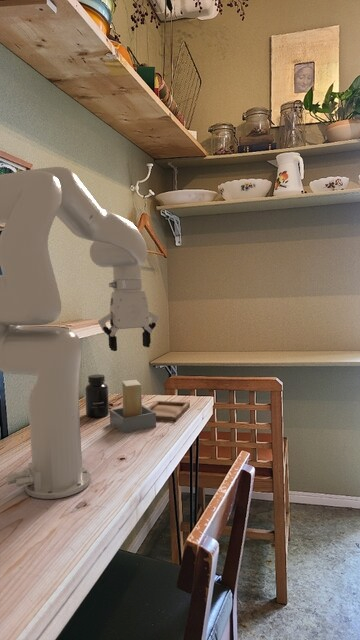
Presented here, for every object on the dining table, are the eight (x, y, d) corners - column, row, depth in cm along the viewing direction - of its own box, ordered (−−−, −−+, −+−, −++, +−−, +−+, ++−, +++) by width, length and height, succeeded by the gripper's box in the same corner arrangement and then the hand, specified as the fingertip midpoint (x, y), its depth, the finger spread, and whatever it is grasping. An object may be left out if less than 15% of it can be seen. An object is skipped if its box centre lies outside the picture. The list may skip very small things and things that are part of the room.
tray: (175, 422, 125) (175, 417, 125) (139, 419, 128) (139, 414, 128) (189, 406, 140) (189, 402, 139) (156, 404, 143) (156, 400, 142)
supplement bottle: (96, 419, 129) (95, 379, 128) (81, 415, 133) (79, 376, 132) (113, 413, 134) (112, 375, 133) (98, 410, 138) (96, 372, 137)
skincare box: (123, 422, 126) (121, 380, 124) (138, 421, 127) (136, 379, 126) (127, 430, 119) (125, 385, 118) (143, 428, 121) (141, 384, 120)
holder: (123, 433, 117) (122, 418, 116) (110, 423, 125) (109, 409, 125) (156, 426, 121) (155, 412, 121) (141, 417, 130) (140, 404, 129)
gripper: (102, 287, 112) (105, 354, 114) (162, 285, 121) (164, 347, 122) (92, 287, 119) (95, 350, 120) (150, 285, 127) (152, 343, 129)
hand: (130, 348), depth 121 cm, fingers open, 9 cm apart
